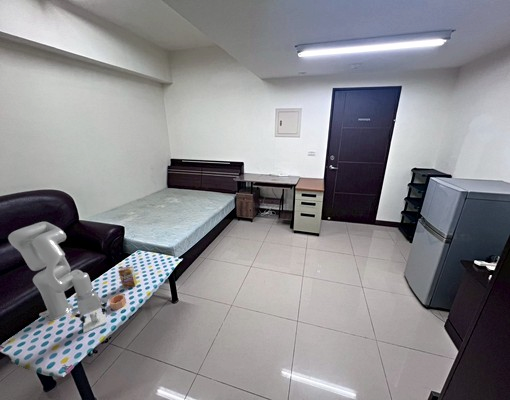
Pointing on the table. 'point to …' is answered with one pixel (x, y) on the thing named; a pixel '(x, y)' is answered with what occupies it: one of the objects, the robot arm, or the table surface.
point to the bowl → (117, 301)
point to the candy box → (127, 277)
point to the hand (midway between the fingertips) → (94, 317)
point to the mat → (95, 328)
